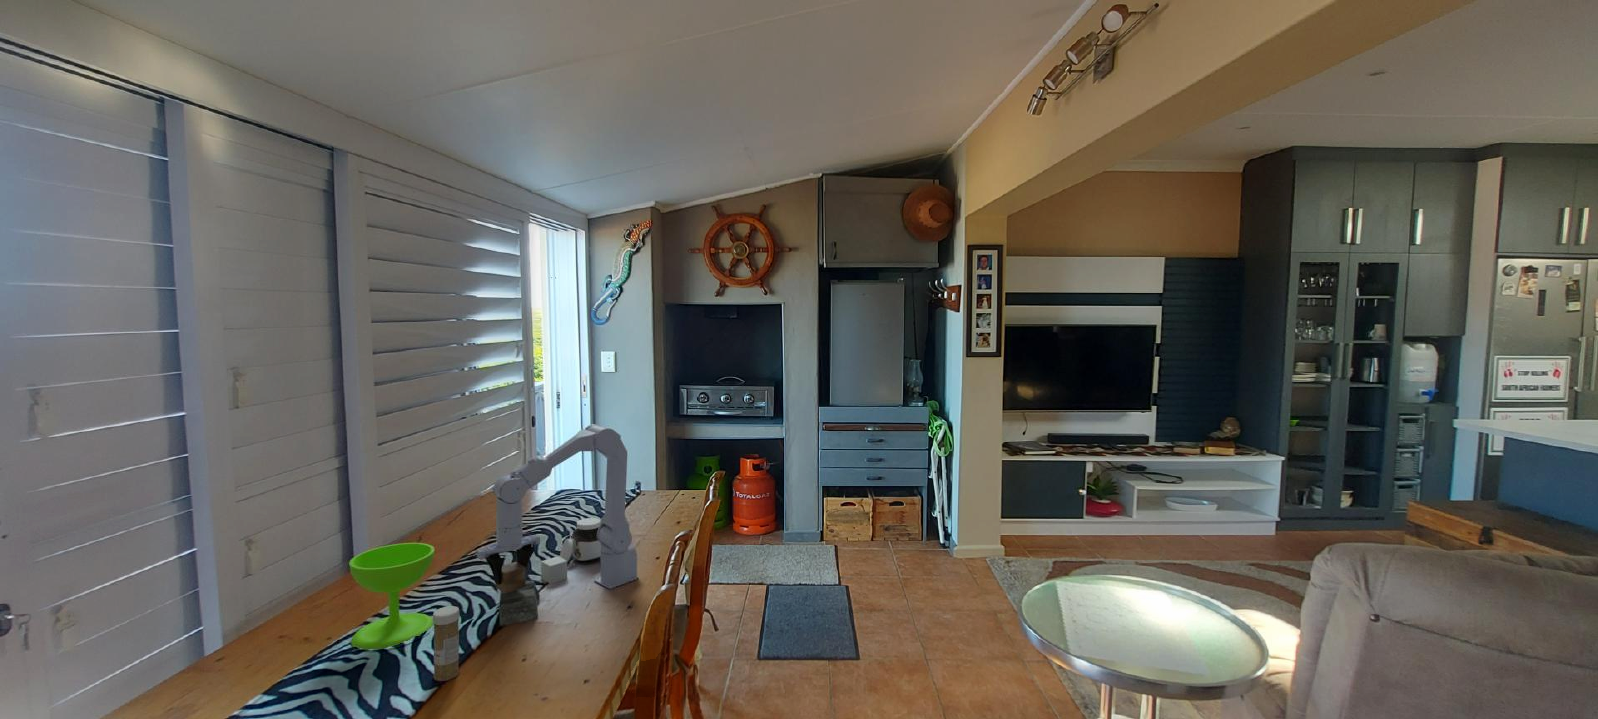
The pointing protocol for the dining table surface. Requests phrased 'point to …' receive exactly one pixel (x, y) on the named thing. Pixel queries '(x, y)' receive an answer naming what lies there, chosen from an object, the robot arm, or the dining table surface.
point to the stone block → (519, 605)
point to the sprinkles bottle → (446, 643)
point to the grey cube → (553, 569)
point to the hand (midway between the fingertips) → (509, 579)
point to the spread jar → (583, 542)
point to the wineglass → (392, 591)
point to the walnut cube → (512, 577)
